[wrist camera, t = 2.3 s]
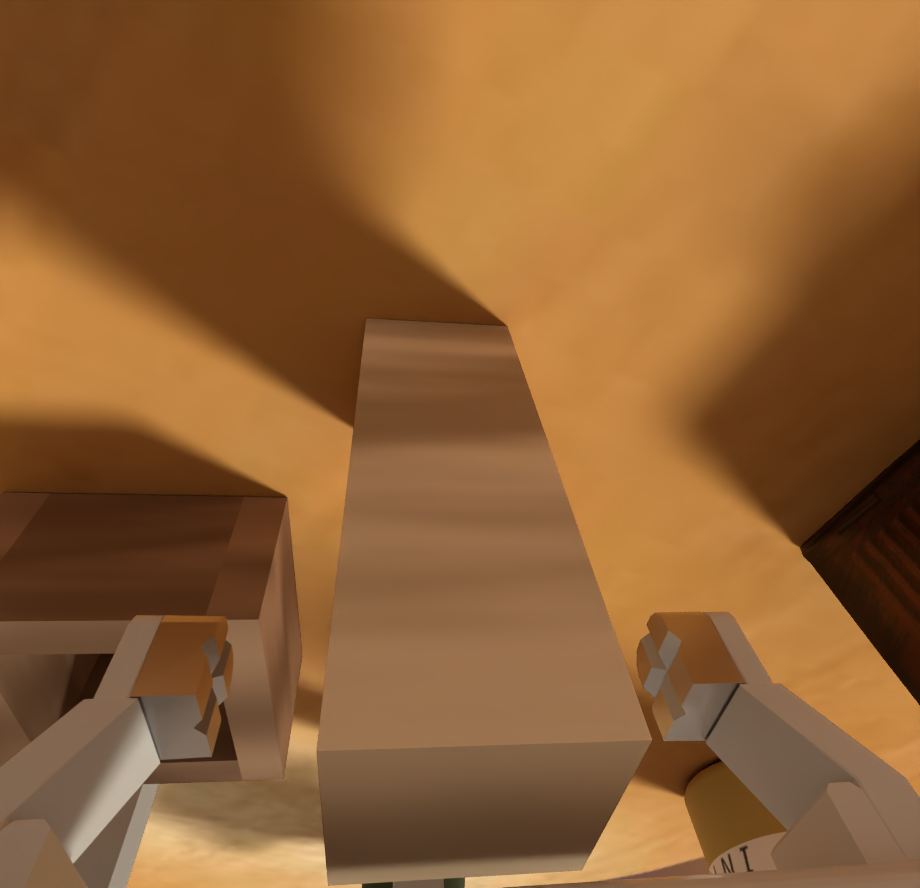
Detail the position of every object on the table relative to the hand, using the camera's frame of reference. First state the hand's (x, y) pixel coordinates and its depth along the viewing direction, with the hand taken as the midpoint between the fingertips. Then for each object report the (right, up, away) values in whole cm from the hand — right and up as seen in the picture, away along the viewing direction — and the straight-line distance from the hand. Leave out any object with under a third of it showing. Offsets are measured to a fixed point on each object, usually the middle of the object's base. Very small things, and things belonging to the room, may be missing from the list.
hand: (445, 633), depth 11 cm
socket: (-10, -2, +10) cm, 15 cm away
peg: (-1, +5, +6) cm, 8 cm away
